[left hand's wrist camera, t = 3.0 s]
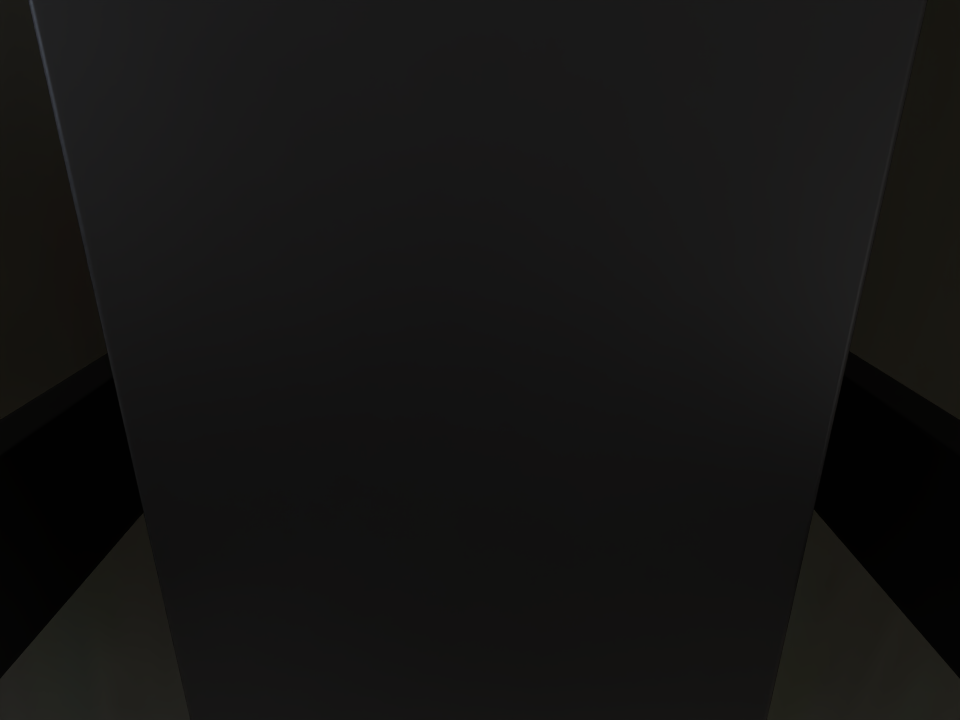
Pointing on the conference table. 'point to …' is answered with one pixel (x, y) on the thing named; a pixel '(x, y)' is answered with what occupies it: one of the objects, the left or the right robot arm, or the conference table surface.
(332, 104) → the bar
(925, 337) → the conference table surface
